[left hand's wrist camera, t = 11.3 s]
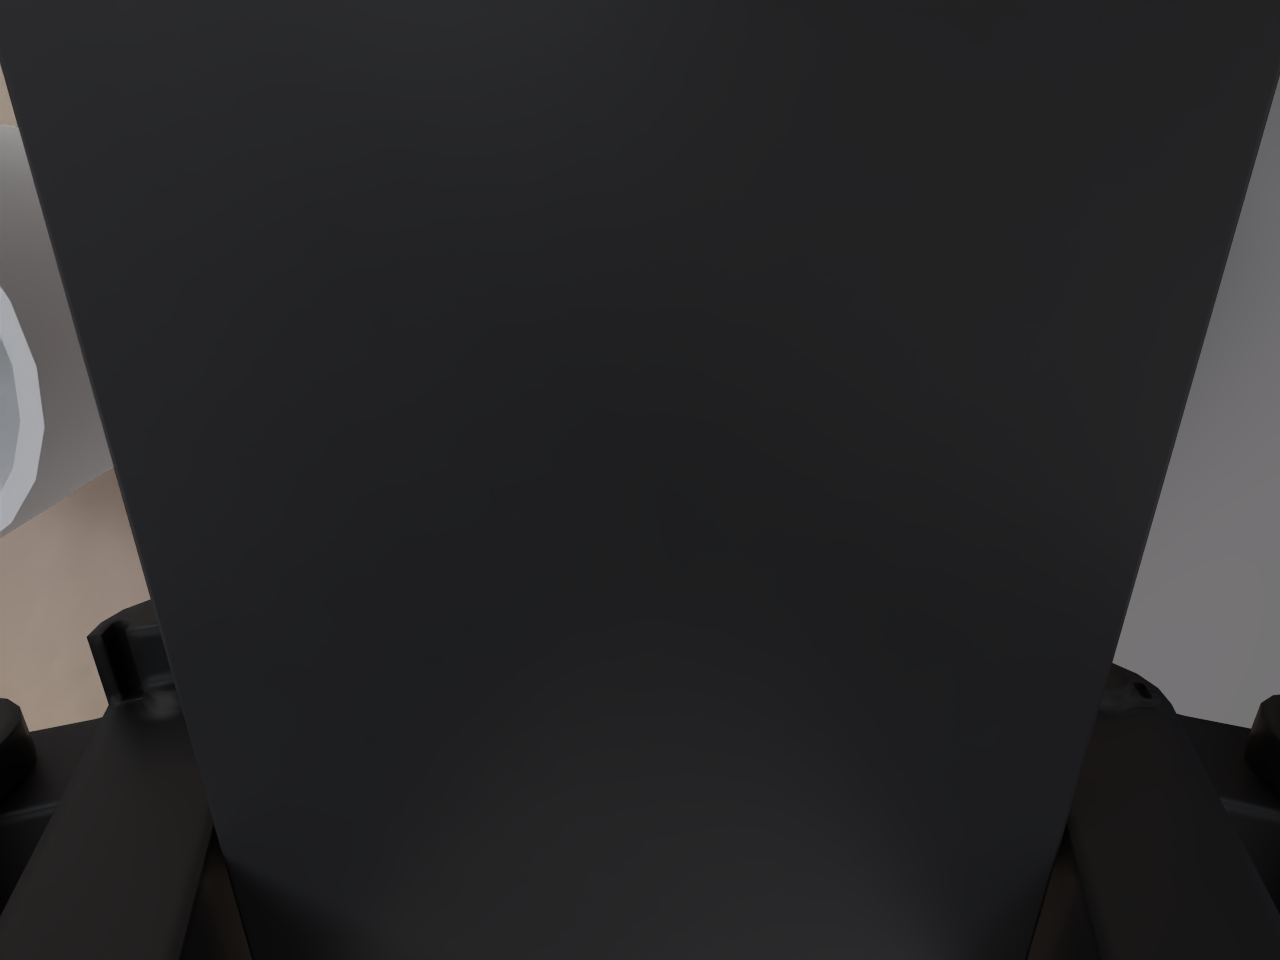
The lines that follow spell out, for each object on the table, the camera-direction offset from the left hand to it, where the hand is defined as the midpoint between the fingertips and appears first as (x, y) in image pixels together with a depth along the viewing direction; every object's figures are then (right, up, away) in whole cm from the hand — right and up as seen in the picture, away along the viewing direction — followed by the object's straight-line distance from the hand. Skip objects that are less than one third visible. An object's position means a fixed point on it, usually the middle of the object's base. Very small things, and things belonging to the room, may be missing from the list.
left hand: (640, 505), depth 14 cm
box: (0, +9, -3) cm, 9 cm away
